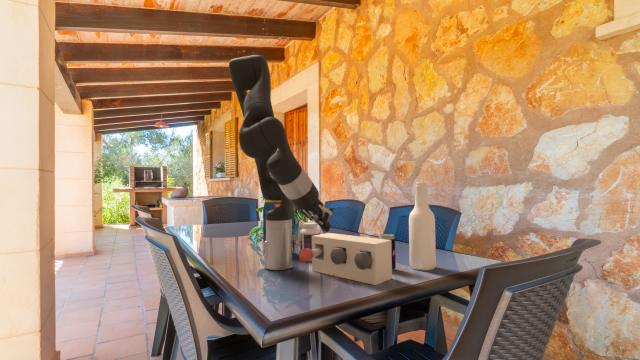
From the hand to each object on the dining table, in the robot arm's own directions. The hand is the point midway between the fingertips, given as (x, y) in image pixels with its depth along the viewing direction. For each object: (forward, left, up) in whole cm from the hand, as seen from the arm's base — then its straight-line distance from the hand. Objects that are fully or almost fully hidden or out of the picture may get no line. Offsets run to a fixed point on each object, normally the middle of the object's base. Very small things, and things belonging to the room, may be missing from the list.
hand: (327, 229), depth 96 cm
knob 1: (+3, +16, -13) cm, 20 cm away
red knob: (-8, +16, -12) cm, 22 cm away
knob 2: (+11, +11, -13) cm, 20 cm away
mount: (+4, +18, -17) cm, 25 cm away
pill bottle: (-15, +37, -17) cm, 43 cm away
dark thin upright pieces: (-31, +45, -17) cm, 57 cm away
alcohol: (+27, +31, -17) cm, 45 cm away
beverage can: (+15, +26, -17) cm, 35 cm away
